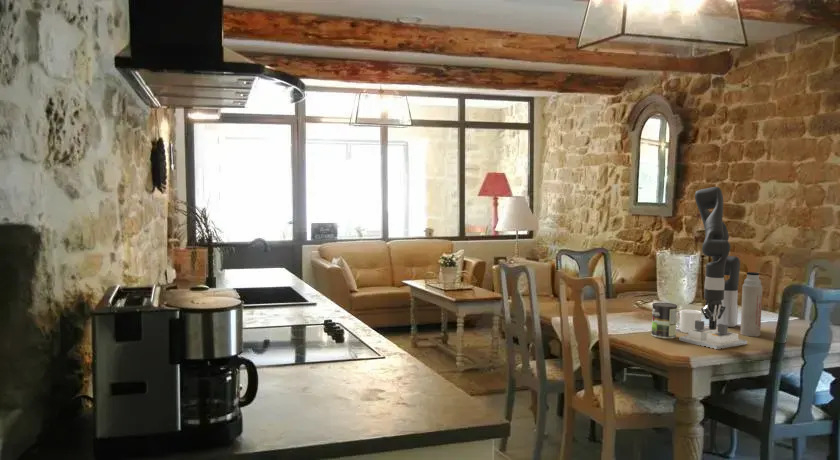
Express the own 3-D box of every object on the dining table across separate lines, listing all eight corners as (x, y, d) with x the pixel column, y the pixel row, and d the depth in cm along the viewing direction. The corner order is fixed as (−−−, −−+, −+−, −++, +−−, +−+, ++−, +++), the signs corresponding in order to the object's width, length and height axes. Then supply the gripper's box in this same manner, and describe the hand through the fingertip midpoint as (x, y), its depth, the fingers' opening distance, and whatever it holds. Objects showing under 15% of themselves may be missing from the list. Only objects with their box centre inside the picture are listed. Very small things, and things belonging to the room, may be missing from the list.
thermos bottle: (764, 335, 298) (767, 273, 296) (752, 337, 294) (755, 274, 293) (748, 331, 305) (750, 271, 303) (736, 333, 301) (739, 271, 300)
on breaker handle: (697, 328, 287) (698, 320, 287) (703, 329, 285) (704, 321, 284) (694, 328, 286) (695, 320, 286) (700, 330, 284) (701, 321, 283)
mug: (703, 331, 304) (704, 311, 304) (695, 334, 298) (696, 314, 297) (678, 327, 313) (678, 307, 312) (669, 330, 306) (670, 310, 306)
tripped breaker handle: (720, 331, 281) (721, 323, 281) (727, 333, 278) (727, 324, 278) (717, 332, 280) (718, 323, 280) (724, 333, 277) (724, 325, 277)
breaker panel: (709, 335, 296) (709, 325, 296) (746, 344, 281) (747, 333, 280) (679, 340, 286) (679, 329, 286) (716, 349, 271) (716, 338, 270)
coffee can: (657, 338, 289) (658, 306, 288) (647, 333, 299) (648, 302, 298) (680, 338, 290) (681, 306, 289) (669, 333, 300) (670, 302, 299)
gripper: (716, 285, 281) (714, 326, 282) (696, 287, 275) (694, 329, 276) (732, 288, 275) (730, 329, 276) (712, 290, 268) (710, 332, 269)
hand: (712, 329), depth 276 cm, fingers closed
